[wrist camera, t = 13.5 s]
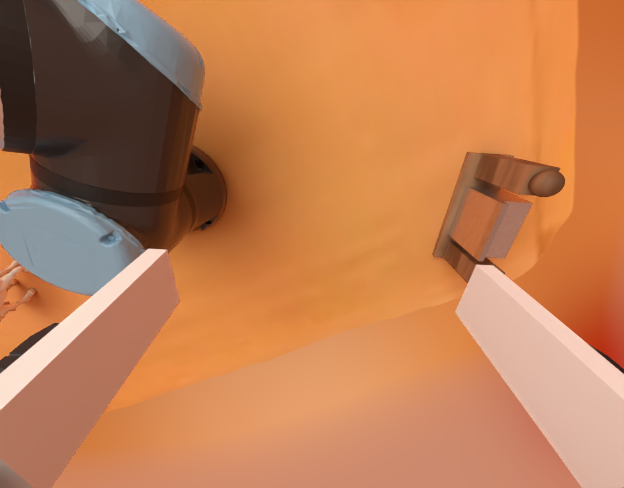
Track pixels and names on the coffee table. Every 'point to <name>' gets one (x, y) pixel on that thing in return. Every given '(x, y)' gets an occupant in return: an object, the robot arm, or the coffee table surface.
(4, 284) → the unicorn figurine
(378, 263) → the coffee table surface
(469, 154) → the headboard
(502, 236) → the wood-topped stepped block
